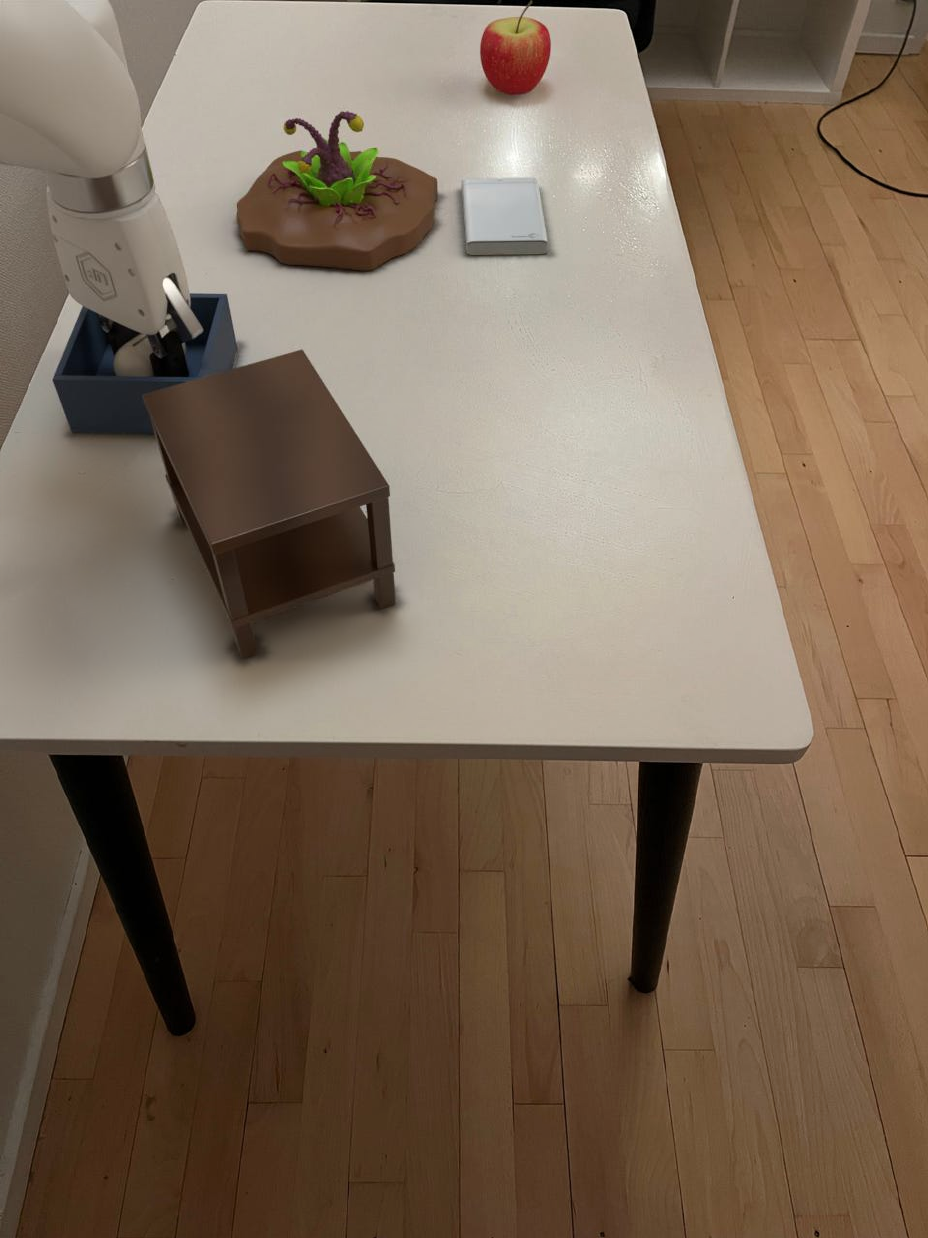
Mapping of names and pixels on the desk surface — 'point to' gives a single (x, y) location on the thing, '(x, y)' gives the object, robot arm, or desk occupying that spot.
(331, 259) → the plant
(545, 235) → the hard drive
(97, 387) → the bin
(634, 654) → the desk surface
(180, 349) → the robot arm
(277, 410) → the side table
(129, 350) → the white capsule
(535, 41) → the apple
